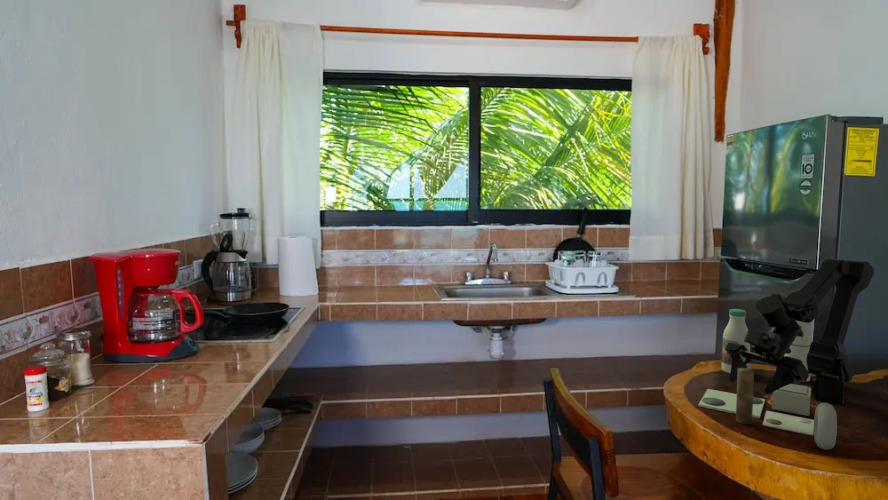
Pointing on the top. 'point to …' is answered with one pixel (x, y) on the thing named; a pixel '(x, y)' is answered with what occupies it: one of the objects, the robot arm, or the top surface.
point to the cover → (792, 399)
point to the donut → (825, 426)
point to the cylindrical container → (802, 344)
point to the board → (728, 402)
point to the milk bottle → (734, 336)
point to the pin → (744, 395)
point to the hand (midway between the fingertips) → (747, 387)
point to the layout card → (789, 423)
